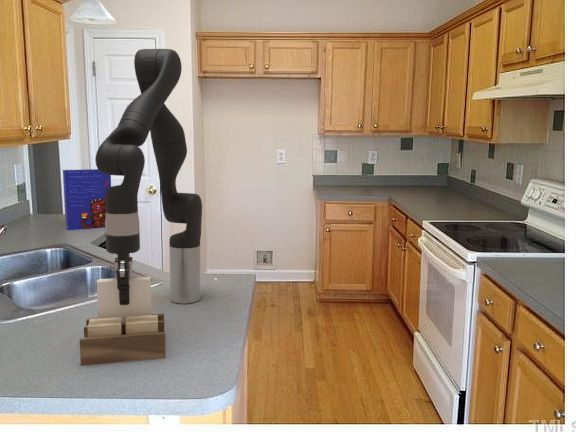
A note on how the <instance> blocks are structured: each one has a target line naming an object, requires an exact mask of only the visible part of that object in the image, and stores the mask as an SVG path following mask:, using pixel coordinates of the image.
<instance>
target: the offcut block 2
mask: <svg viewBox="0 0 576 432" xmlns="http://www.w3.org/2000/svg"><path fill="white" fill-rule="evenodd" d="M156 332H158V315H147V316H132V317H127V318H126V335H129V334H143V333H156Z"/></svg>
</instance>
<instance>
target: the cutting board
mask: <svg viewBox="0 0 576 432" xmlns="http://www.w3.org/2000/svg"><path fill="white" fill-rule="evenodd" d="M151 278H152V277H151V276H137V277H136V276H135V277H134V276H133V277H132V276H131V279H130V280H129V285H130V288H129V301H130V302H129V304H128V305H120V302H119V290H118V288H117V286H118V285H117V280H116V277H114V278H98V279H97V280H96V294H97V295H96V297H97V298H96V299H97V300H96V301H97V318H98V319H102V318H117V317H122V323H126V318H127V317H132V316H147V315H151V314H152V279H151ZM121 284H126V283H121Z"/></svg>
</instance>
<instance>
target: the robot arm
mask: <svg viewBox="0 0 576 432" xmlns="http://www.w3.org/2000/svg"><path fill="white" fill-rule="evenodd" d="M133 59H134V60H133V62H134V63H133V64H134V66H133V67H134V72H135V77H136V81H137V84H138V88H139V92H140V94H139V95H138V96H136V97H134V99H132V101H131V102H130V103H129V104H128V105H127V106H126V108H125V110H124V111H123V114H122V116H121V118H120V120H119V122H118V124H117V127H115V129H113V131H112V132H111V133H110V134H109V135H107V137H106V138H105V139H104V140H103V141H102V143H101V144H100V145H99V146H98V148H97V151H96V154H95V158H94V159H95V160H94V161H95V166H96V168H97V169H98V170H99V171H100V172H101V173H103V174H106V175H111V176H122V177H123V178H122V179H123V180H122V182H121V183H120V184H118V185H113V186H112V185H111V187H109V188H107V190H106V194H105V200H106V219H105V227H104V228H105V250H106V252H107V253H109V254H113V255H117V257H114V260H113V261H114V263H113V264H114V269H115V278H116V280H117V285H118V286H117V288H118V290H119V302H120V305H128V304H129V302H130V301H129V288H130V285H129V280H130V279H131V278H132V275H133V263H134V261H133V260H134V259H133V256H131V255H130V254H133V253H137V252H138V251H140V250H141V238H140V233H141V232H140V218H139V217H140V216H139V205H138V204H139V202H138V201H139V200H138V194H139V189H140V184H141V179H142V176H143V172H144V169H145V161H146V159H145V158H146V157H145V155H144V152H143V150H142V149H141V148H140V147H141V146H143V145H144V144H145V142H146V140H147V139H148V136H149V133H150V140H151V144H152V149H153V154H154V157H155V162H156V167H157V172H158V177H159V187H160V195H161V197H160V198H161V205H162V211H163V216H164V218H165V220H166V221H168V222H169V223H173V224H184V225H185V226H186V227H185V229H184V230H183V231H182V232H177V233H175V234H172V235H171V236H170V237H169V239H168V240H169V290H170V294H169V297H170V301H171V302H172V303H176V304H181V305H182V304H193V303H196V302H199V301H200V300H201V238H202V219H203V201H202V198H201V196H200V194H197V193H192V192H191V193H190V192H178V190H177V183H176V182H177V176H178V174H179V172H180V170H181V168H182V166H183V164H184V162H185V160H186V158H187V153H188V148H187V146H188V145H187V141H186V140H187V139H186V135H185V130H184V127H183V126H182V124H181V123H180V121H179V120H178V119H177V118H176V116H175V115H174V114H173V113H172V111H171V110H170V109H169V108H168V107H167V105H166V104H165V103H166V101H167V100H168V98H169V97H170V95H171V94H172V92H173V91H174V89H175V88H176V86H177V85H178V83H179V81H180V79H181V76H182V75H181V74H182V61H181V57H180V54H178V52H177V51H176V50H174V49H170V48H141V49H138V50H137V51H136V52H135V56H134V58H133ZM121 283H126V284H121Z"/></svg>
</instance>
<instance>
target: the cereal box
mask: <svg viewBox="0 0 576 432" xmlns="http://www.w3.org/2000/svg"><path fill="white" fill-rule="evenodd" d="M62 177H63V180H62V181H63V182H62V183H63V200H64V218H65V220H64V221H65V229H66V230H67V231H74V230H75V231H77V230H88V229H102V228H105V219H106V200H105V194H106V190H107V188H109V187H112V175H106V174H103V173H101V172H100V171H99V170H98V168H97V169H96V168H95V169H93V168H92V169H91V168H90V169H88V168H87V169H62Z"/></svg>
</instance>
